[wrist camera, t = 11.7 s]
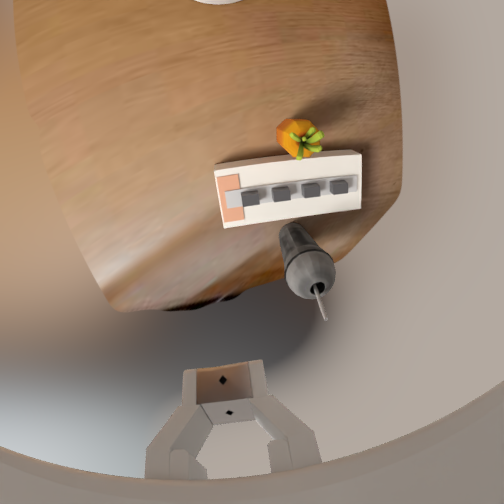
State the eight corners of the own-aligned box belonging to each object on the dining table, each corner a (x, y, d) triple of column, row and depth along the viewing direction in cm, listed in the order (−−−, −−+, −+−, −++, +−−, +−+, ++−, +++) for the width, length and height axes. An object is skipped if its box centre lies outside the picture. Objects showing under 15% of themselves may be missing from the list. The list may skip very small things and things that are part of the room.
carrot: (274, 150, 42) (300, 175, 30) (261, 121, 40) (282, 132, 27) (304, 138, 42) (341, 158, 29) (292, 109, 39) (326, 115, 27)
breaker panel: (214, 164, 43) (213, 174, 37) (350, 149, 43) (367, 157, 38) (223, 217, 47) (224, 234, 42) (351, 200, 48) (366, 213, 43)
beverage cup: (315, 216, 49) (364, 286, 32) (308, 253, 52) (347, 331, 35) (273, 214, 48) (305, 287, 31) (268, 252, 51) (293, 335, 34)
